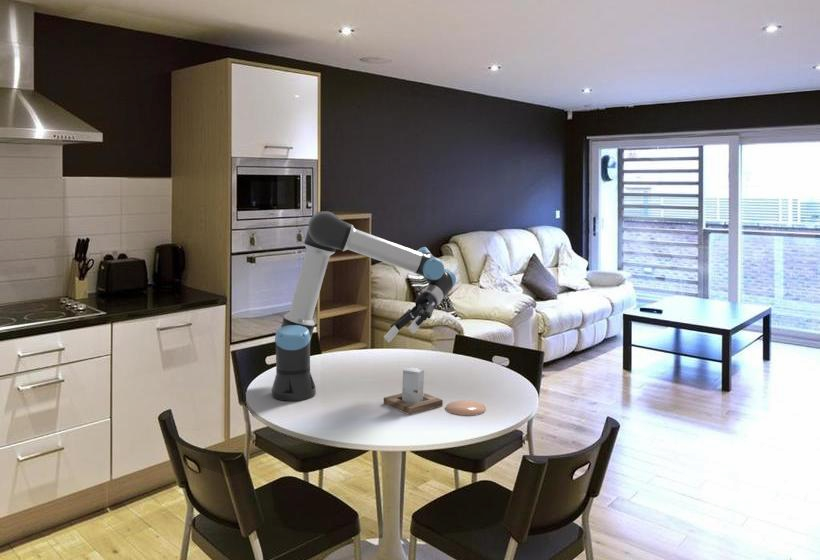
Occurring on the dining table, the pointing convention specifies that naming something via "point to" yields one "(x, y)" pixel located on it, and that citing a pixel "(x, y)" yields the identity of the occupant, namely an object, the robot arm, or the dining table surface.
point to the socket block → (426, 404)
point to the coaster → (465, 407)
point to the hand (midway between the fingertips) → (398, 335)
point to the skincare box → (413, 385)
